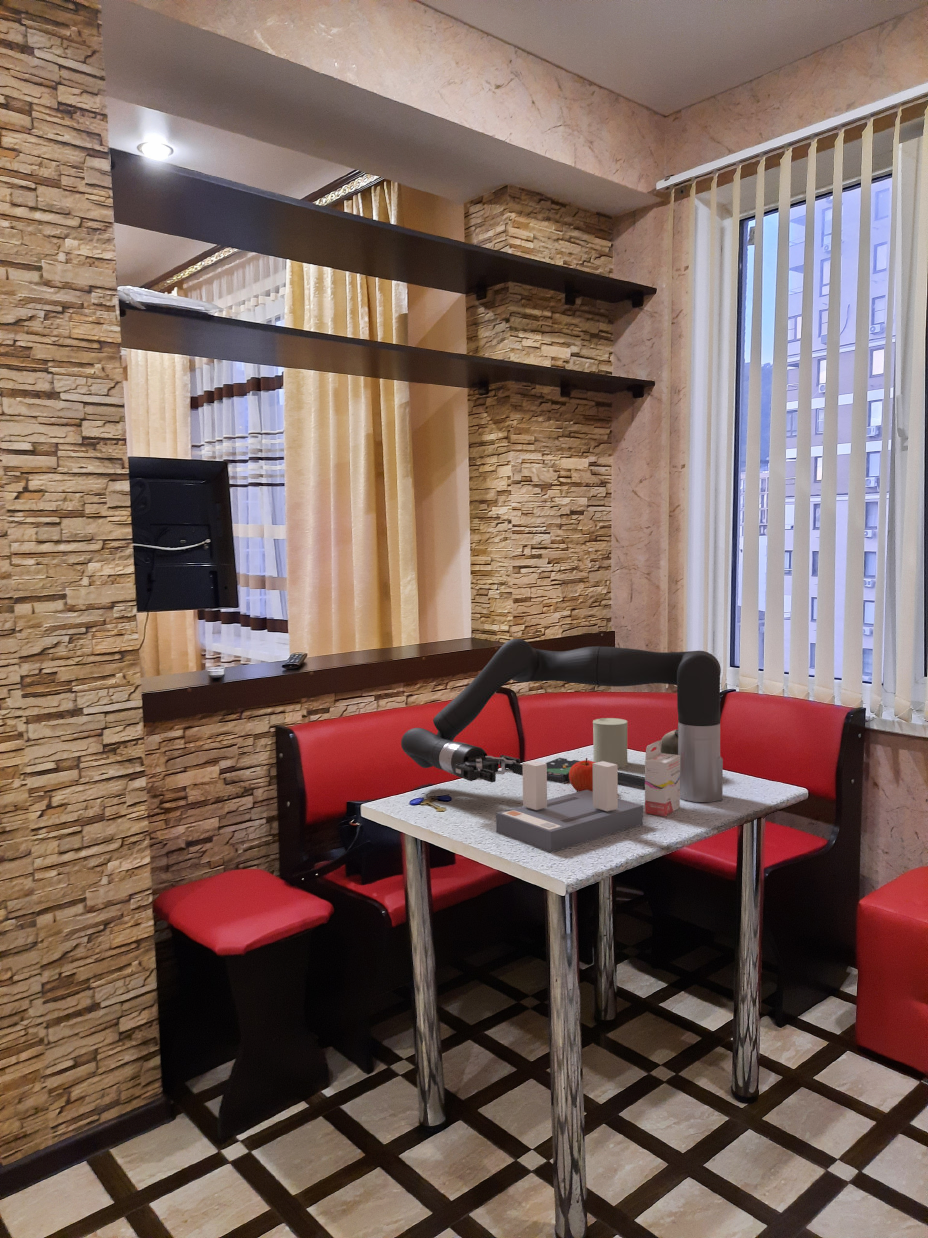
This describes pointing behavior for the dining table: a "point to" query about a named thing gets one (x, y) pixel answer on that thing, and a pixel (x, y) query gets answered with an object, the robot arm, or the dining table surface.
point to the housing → (567, 821)
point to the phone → (631, 781)
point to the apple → (582, 775)
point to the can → (610, 741)
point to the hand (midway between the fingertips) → (510, 774)
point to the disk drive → (559, 770)
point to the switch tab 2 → (605, 786)
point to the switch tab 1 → (535, 785)
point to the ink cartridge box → (661, 781)
